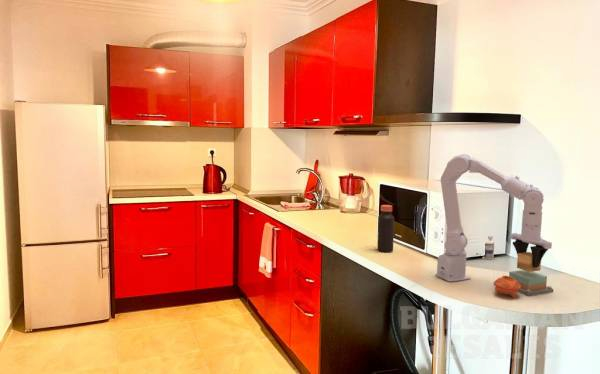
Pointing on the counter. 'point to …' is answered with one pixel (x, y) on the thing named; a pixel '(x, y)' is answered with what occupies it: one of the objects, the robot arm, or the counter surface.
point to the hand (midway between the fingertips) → (528, 264)
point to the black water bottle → (385, 229)
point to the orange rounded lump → (507, 285)
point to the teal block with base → (531, 282)
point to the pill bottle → (489, 249)
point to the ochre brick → (526, 262)
